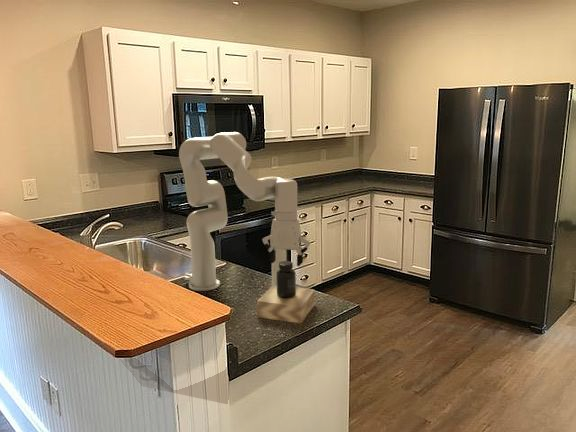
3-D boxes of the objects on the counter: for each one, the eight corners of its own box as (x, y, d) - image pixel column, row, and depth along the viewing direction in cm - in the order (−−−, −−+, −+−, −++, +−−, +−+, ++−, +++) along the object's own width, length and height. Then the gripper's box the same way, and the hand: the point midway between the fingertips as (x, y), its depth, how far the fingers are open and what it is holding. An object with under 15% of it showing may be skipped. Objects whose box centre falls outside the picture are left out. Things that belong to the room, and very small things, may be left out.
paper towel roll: (281, 291, 184) (281, 239, 179) (268, 288, 187) (268, 237, 182) (290, 285, 190) (290, 235, 185) (278, 283, 193) (277, 233, 188)
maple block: (257, 317, 161) (257, 300, 159) (273, 299, 175) (273, 284, 174) (301, 323, 156) (301, 306, 154) (314, 305, 171) (314, 289, 169)
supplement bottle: (295, 291, 168) (295, 259, 165) (296, 298, 161) (296, 265, 158) (276, 291, 168) (276, 259, 165) (276, 299, 161) (276, 266, 158)
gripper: (258, 216, 157) (259, 264, 161) (307, 220, 152) (306, 269, 156) (266, 211, 164) (266, 257, 168) (313, 215, 159) (312, 262, 163)
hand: (286, 263), depth 162 cm, fingers open, 9 cm apart
